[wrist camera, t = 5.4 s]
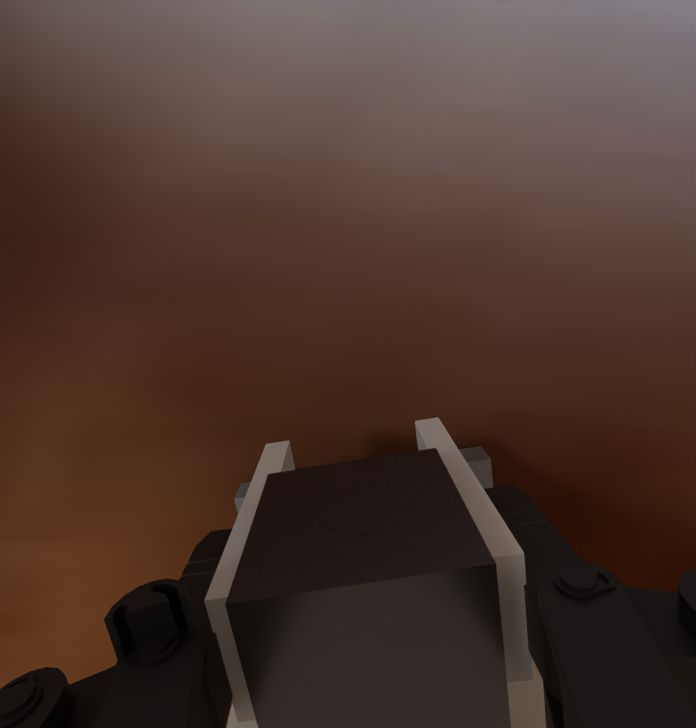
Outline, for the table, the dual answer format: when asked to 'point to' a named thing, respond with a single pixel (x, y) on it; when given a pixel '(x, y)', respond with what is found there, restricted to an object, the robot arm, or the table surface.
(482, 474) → the jig
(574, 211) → the table surface
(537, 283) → the table surface
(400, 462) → the shaft
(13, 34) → the table surface
